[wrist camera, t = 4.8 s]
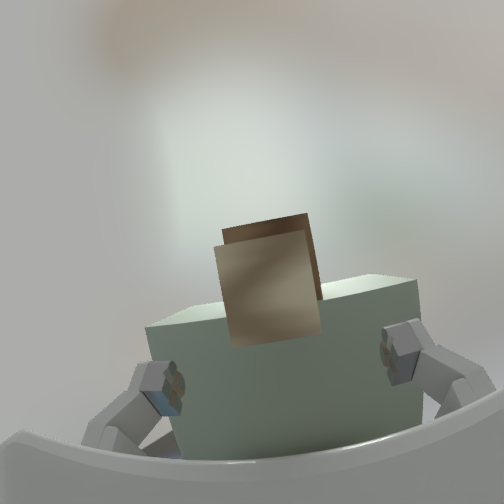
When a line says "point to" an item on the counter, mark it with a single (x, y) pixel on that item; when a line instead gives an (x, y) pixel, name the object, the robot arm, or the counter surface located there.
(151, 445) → the counter surface
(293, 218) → the walnut handle block
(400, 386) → the large sage green box
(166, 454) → the counter surface
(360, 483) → the robot arm
